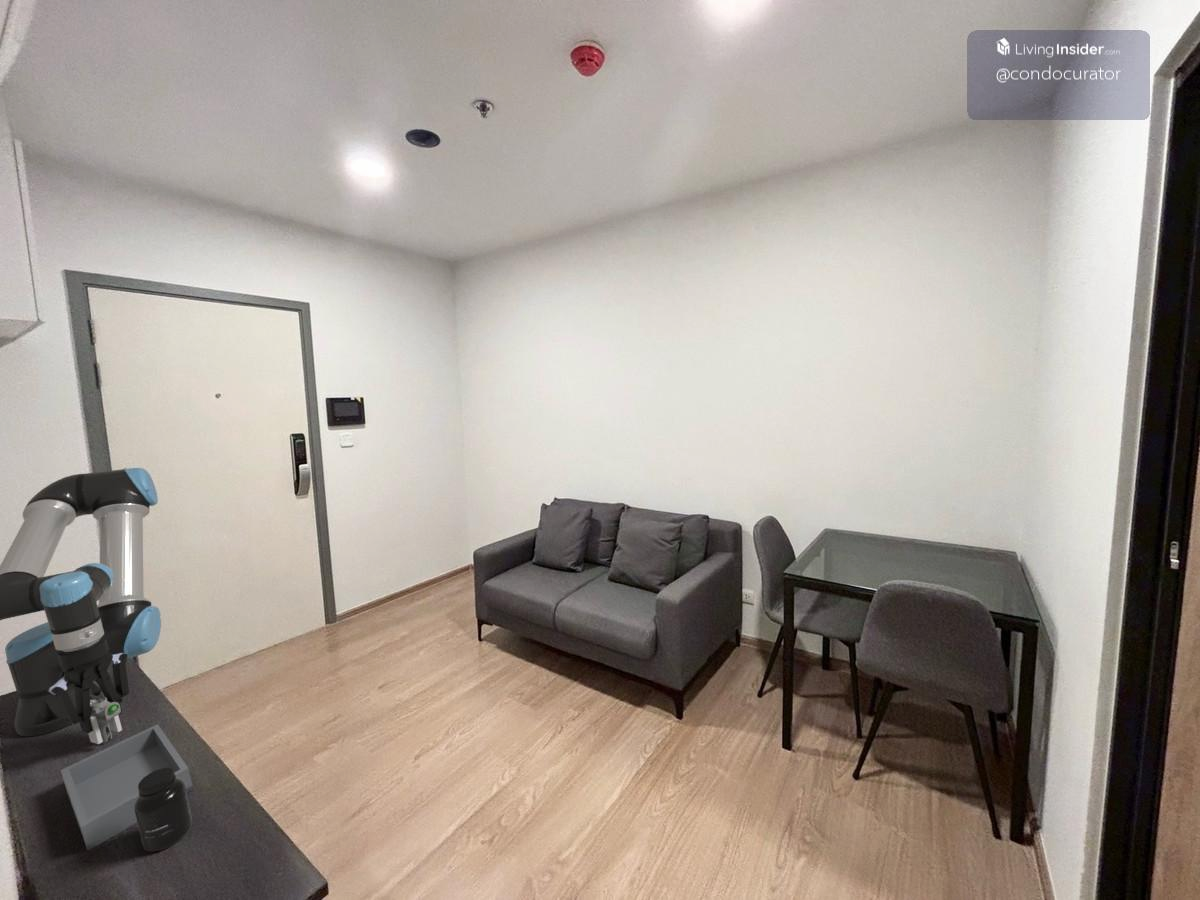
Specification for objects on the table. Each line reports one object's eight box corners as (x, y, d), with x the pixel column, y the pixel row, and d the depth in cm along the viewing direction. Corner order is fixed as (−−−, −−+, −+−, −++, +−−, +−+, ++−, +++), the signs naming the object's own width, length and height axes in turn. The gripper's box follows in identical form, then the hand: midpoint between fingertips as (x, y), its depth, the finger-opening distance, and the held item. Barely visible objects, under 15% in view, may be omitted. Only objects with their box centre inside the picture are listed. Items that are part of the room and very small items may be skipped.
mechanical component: (116, 748, 110) (105, 708, 108) (84, 741, 112) (73, 702, 111) (131, 738, 113) (121, 699, 111) (99, 731, 115) (89, 693, 113)
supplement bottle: (152, 860, 84) (136, 801, 82) (137, 842, 88) (122, 784, 86) (200, 828, 90) (186, 771, 88) (185, 811, 94) (171, 756, 91)
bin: (66, 791, 100) (60, 770, 99) (162, 743, 111) (157, 724, 110) (87, 851, 87) (80, 827, 86) (193, 789, 98) (188, 768, 97)
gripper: (43, 667, 99) (72, 767, 104) (135, 625, 114) (157, 713, 119) (19, 662, 101) (49, 760, 106) (113, 621, 116) (136, 709, 121)
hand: (106, 735), depth 112 cm, fingers closed on mechanical component, 3 cm apart
